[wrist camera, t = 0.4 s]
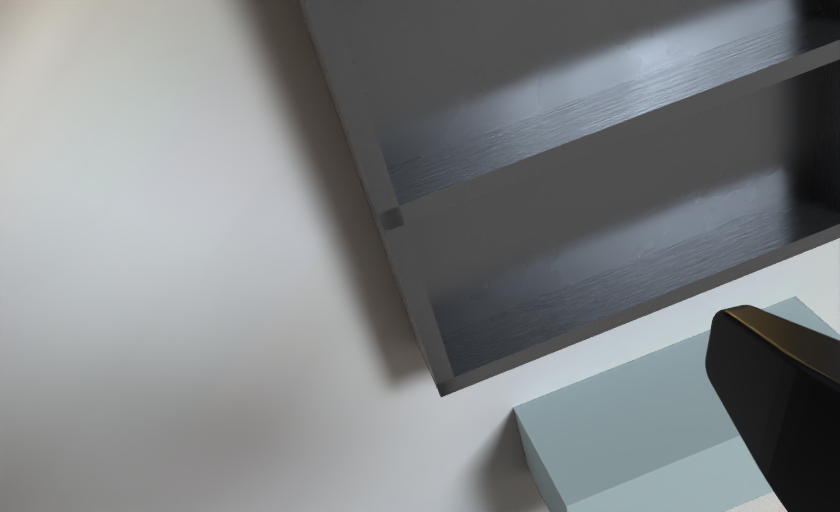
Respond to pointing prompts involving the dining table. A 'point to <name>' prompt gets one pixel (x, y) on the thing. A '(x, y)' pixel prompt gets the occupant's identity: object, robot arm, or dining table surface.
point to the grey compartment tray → (580, 157)
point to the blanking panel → (646, 435)
